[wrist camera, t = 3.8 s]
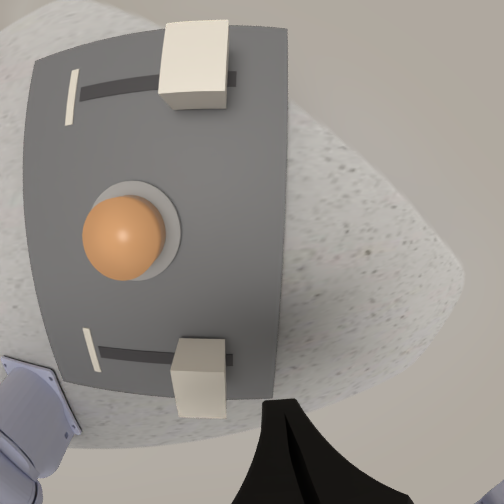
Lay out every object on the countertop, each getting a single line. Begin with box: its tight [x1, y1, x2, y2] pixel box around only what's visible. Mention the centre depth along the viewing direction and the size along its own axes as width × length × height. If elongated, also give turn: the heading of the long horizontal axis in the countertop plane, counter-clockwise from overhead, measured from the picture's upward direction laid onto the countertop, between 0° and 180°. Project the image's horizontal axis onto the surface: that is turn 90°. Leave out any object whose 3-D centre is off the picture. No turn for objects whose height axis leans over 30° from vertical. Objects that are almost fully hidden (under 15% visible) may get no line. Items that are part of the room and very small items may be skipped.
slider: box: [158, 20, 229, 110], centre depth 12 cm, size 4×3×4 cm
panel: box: [23, 25, 288, 400], centre depth 17 cm, size 26×18×2 cm
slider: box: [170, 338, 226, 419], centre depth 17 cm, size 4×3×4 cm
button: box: [82, 195, 166, 281], centre depth 15 cm, size 4×4×2 cm
